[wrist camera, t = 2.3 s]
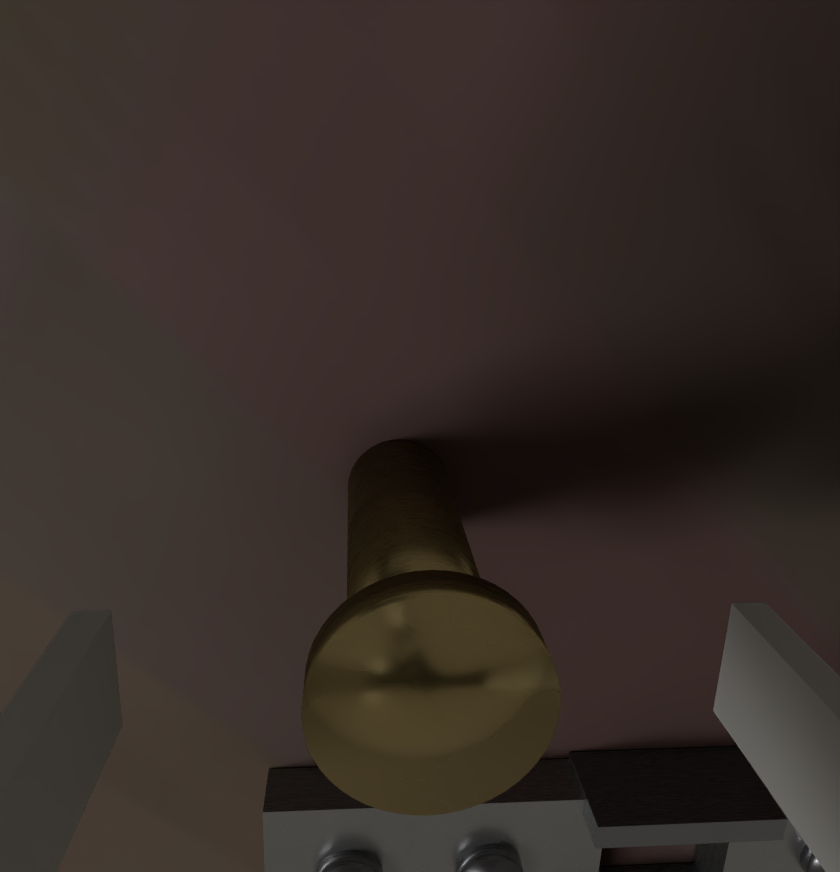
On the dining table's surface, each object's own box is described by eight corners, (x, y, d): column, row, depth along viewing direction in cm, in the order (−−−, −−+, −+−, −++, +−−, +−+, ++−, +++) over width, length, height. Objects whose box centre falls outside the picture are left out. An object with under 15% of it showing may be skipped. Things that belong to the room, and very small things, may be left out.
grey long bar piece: (273, 900, 29) (263, 991, 26) (268, 762, 27) (257, 841, 24) (962, 865, 32) (1033, 944, 29) (1005, 737, 30) (1087, 806, 27)
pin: (322, 414, 23) (299, 599, 13) (475, 416, 24) (572, 595, 13) (323, 554, 25) (303, 820, 14) (467, 553, 25) (548, 810, 15)
